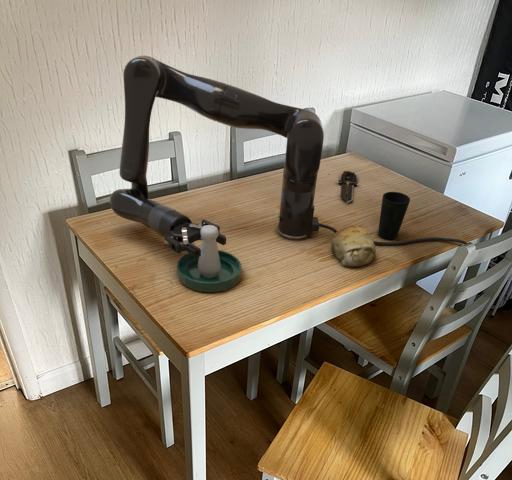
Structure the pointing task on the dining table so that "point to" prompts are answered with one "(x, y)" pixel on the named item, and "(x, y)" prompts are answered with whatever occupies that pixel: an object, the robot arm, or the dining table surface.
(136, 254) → the dining table surface
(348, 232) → the pastry
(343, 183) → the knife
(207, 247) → the salt shaker
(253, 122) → the robot arm
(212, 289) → the teal round dish
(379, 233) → the cup
